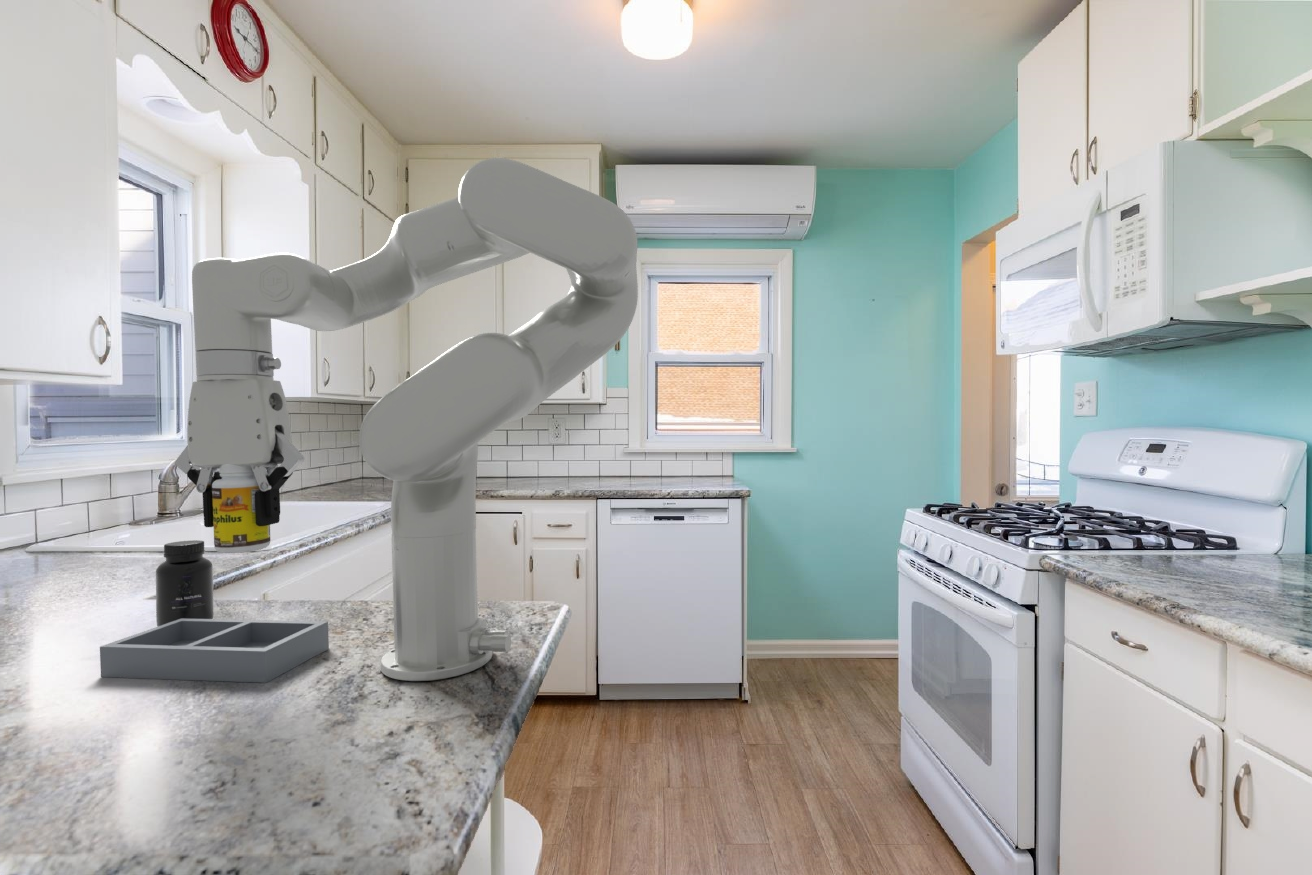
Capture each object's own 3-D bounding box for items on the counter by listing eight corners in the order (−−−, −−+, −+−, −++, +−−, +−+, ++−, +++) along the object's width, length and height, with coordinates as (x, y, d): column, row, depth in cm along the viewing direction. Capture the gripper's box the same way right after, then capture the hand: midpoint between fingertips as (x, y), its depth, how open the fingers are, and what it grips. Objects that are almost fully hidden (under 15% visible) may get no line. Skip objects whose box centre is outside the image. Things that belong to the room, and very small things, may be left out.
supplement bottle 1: (184, 632, 92) (181, 547, 92) (144, 630, 93) (141, 546, 93) (225, 618, 99) (223, 538, 98) (187, 616, 100) (185, 538, 100)
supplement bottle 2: (202, 553, 74) (198, 463, 74) (244, 544, 80) (241, 460, 79) (241, 554, 73) (238, 463, 73) (282, 545, 78) (278, 460, 78)
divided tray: (328, 648, 84) (327, 621, 83) (266, 682, 73) (265, 651, 73) (182, 644, 86) (181, 618, 86) (100, 676, 76) (99, 646, 75)
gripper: (325, 369, 79) (331, 518, 79) (192, 374, 80) (199, 521, 81) (284, 363, 71) (291, 529, 72) (138, 370, 73) (146, 531, 73)
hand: (242, 523), depth 76 cm, fingers closed on supplement bottle 2, 5 cm apart
